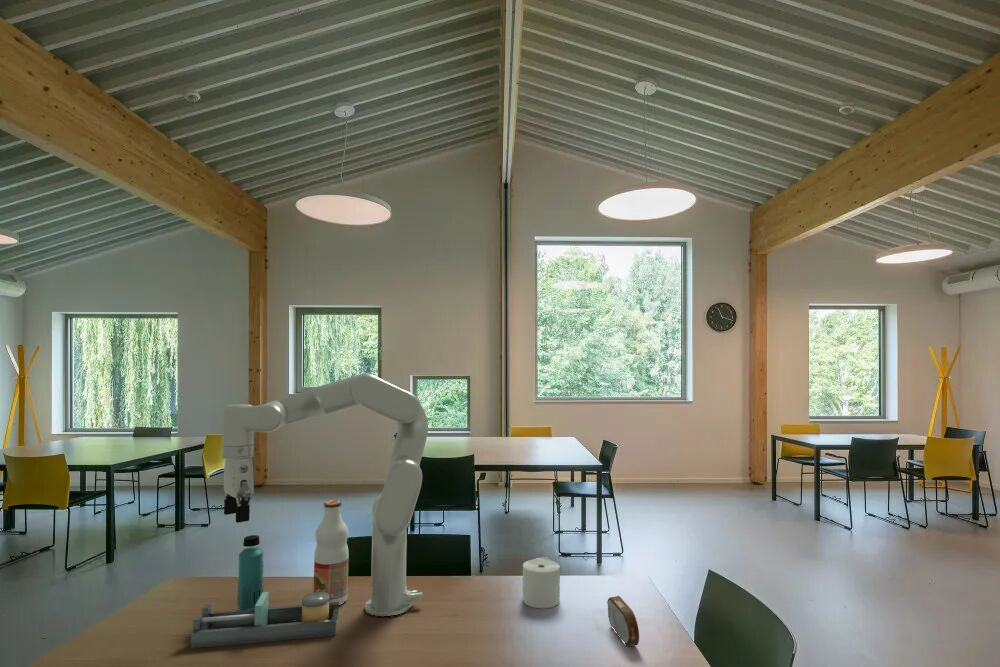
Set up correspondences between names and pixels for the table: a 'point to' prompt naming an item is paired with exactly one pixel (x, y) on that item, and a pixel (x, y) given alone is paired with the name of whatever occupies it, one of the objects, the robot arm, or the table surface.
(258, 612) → the pusher
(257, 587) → the beverage bottle
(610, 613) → the tin
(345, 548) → the fruit juice
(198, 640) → the lane
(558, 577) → the toilet tissue
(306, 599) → the jar
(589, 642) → the table surface
